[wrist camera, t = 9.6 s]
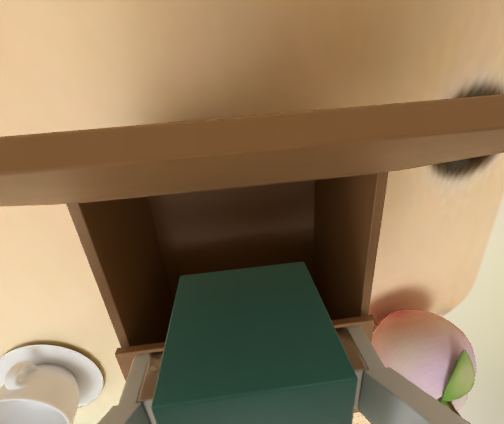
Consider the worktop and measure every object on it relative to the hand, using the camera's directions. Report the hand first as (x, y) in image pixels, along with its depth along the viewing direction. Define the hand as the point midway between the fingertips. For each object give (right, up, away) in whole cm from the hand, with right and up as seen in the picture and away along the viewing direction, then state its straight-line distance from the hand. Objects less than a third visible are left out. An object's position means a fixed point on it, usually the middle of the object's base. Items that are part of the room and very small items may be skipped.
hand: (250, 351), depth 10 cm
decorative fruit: (+14, -7, +21) cm, 26 cm away
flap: (0, +6, -3) cm, 6 cm away
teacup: (-20, -12, +19) cm, 30 cm away
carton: (-1, +3, +14) cm, 15 cm away
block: (0, +1, +2) cm, 2 cm away
